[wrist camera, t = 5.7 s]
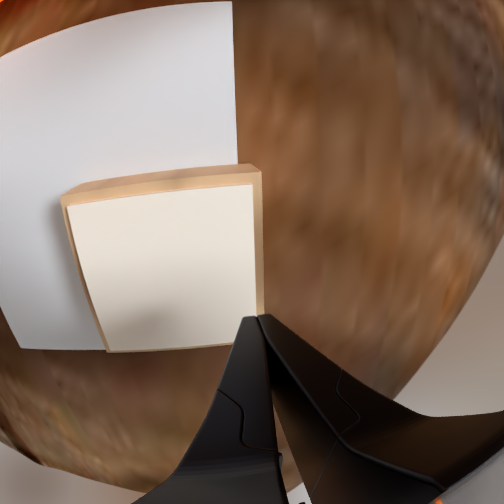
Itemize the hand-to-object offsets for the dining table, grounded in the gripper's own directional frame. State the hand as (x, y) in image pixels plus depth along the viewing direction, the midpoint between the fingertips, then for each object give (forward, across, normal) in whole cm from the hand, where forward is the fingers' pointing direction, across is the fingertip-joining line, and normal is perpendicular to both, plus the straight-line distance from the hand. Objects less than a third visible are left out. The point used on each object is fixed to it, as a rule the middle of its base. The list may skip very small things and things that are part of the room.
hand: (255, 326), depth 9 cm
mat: (+6, +8, -3) cm, 10 cm away
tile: (+5, -1, 0) cm, 5 cm away
